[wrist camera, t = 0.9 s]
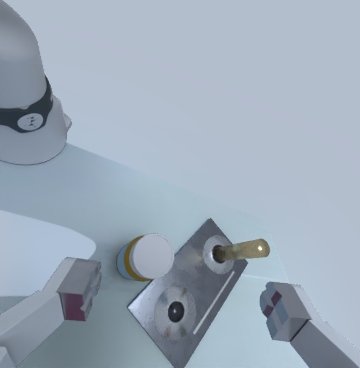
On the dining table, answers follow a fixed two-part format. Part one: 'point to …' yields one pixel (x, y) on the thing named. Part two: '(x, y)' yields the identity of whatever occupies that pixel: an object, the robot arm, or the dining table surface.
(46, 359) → the dining table surface
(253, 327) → the dining table surface
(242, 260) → the gauge plate
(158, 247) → the bottle
